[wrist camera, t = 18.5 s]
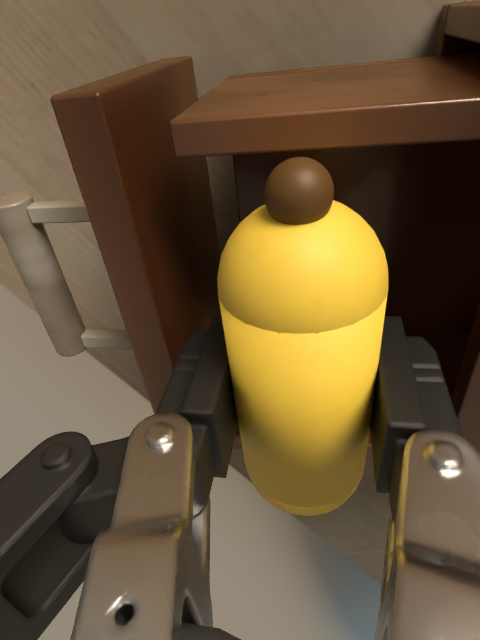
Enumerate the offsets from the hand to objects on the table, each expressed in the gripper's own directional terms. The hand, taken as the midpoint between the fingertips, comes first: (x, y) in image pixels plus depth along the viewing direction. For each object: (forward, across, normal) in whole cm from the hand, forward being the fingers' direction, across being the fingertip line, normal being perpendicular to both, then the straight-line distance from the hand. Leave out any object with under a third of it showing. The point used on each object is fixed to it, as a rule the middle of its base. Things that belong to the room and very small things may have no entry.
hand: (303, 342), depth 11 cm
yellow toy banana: (0, 0, 0) cm, 0 cm away
